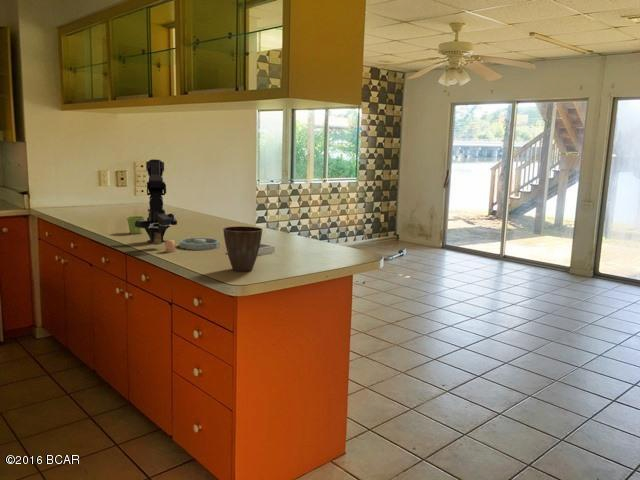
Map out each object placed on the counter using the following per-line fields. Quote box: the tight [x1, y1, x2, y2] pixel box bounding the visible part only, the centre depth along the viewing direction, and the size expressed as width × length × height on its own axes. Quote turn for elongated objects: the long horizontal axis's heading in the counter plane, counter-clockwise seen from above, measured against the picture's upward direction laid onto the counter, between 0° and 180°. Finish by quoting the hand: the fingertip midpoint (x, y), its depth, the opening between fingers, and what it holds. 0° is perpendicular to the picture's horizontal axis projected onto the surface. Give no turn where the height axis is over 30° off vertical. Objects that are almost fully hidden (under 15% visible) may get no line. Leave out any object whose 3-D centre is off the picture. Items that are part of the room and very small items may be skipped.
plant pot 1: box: [125, 215, 145, 235], centre depth 283 cm, size 9×9×9 cm
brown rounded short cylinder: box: [151, 232, 162, 246], centre depth 243 cm, size 4×4×5 cm
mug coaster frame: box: [257, 242, 276, 257], centre depth 242 cm, size 14×16×3 cm
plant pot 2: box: [222, 225, 263, 272], centre depth 206 cm, size 15×15×16 cm
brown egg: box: [164, 239, 176, 254], centre depth 237 cm, size 4×4×5 cm
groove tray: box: [179, 237, 221, 251], centre depth 252 cm, size 18×18×3 cm
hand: (156, 241), depth 243 cm, fingers closed on brown rounded short cylinder, 4 cm apart
